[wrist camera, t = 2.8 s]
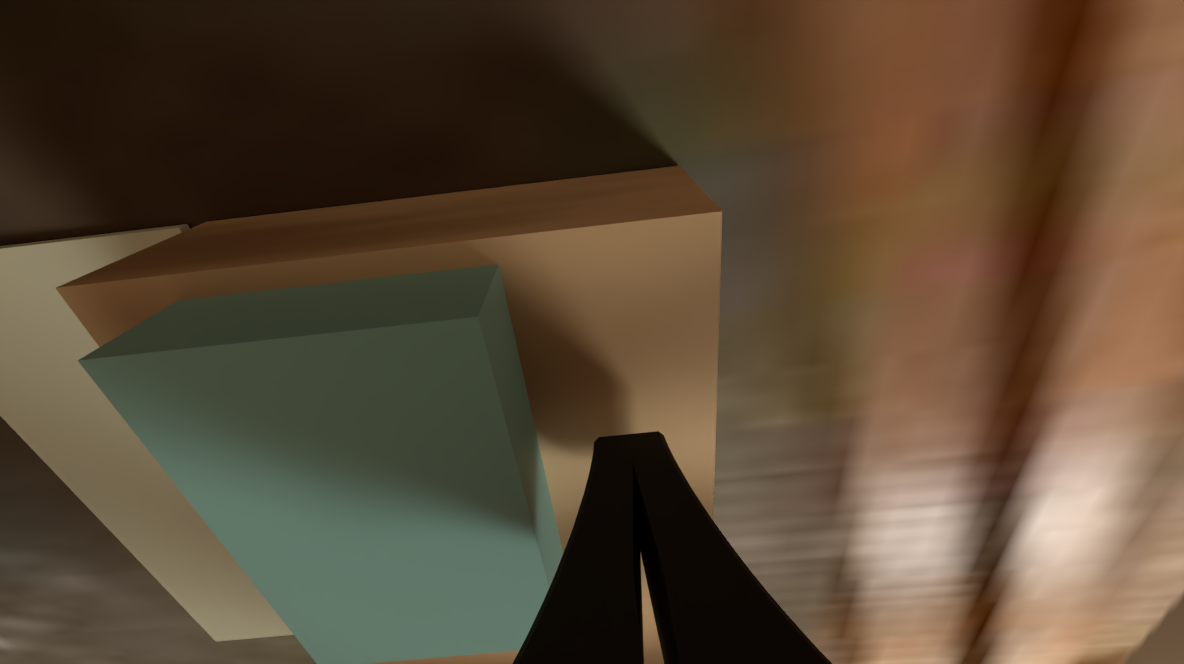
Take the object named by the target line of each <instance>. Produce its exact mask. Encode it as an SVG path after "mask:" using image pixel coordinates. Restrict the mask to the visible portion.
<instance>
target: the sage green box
mask: <svg viewBox="0 0 1184 664" xmlns="http://www.w3.org/2000/svg"><path fill="white" fill-rule="evenodd" d="M78 362H79V363H80V364H81V366H82V367H83V368H84V369H85V371H86V372H87V373H88V374H89V376H90V377H91V378H92V379H93V381H94V382H95V383H96V385H97V386H98V387H99V388H100V390H101V391H102V392H103V393H104V395H105V396H106V397H107V398H108V400H109V401H110V402H111V404H112V405H113V406H114V407H115V409H116V410H117V411H118V412H119V414H120V415H121V416H122V418H123V419H124V420H125V421H126V423H127V424H128V425H129V426H130V428H131V429H132V430H133V431H134V433H135V434H136V435H137V437H138V438H139V439H140V440H141V442H142V443H143V444H144V445H145V447H146V448H147V449H148V450H149V452H150V453H151V454H152V456H153V457H154V458H155V459H156V461H157V462H158V463H159V464H160V466H161V467H162V468H163V469H164V471H165V472H166V473H167V475H168V476H169V477H170V478H171V480H172V481H173V482H174V483H175V485H176V486H177V487H178V489H179V490H180V491H181V492H182V494H183V495H184V496H185V497H186V499H187V500H188V501H189V502H190V504H191V505H192V506H193V508H194V509H195V510H196V511H197V513H198V514H199V515H200V516H201V518H202V519H203V520H204V521H205V523H206V524H207V525H208V527H209V528H210V529H211V530H212V532H213V533H214V534H215V535H216V537H217V538H218V539H219V540H220V542H221V543H222V544H223V546H224V547H225V548H226V549H227V551H228V552H229V553H230V554H231V556H232V557H233V558H234V560H235V561H236V562H237V563H238V565H239V566H240V567H241V568H242V570H243V571H244V572H245V573H246V575H247V576H248V577H249V579H250V580H251V581H252V582H253V584H254V585H255V586H256V587H257V589H258V590H259V591H260V592H261V594H262V595H263V596H264V598H265V599H266V600H267V601H268V603H269V604H270V605H271V606H272V608H273V609H274V610H275V611H276V613H277V614H278V615H279V617H280V618H281V619H282V620H283V622H284V623H285V624H286V625H287V627H288V628H289V629H290V631H291V632H292V633H293V634H294V636H295V637H296V638H297V639H298V641H299V642H300V643H301V644H302V646H303V647H304V648H305V650H306V651H307V652H308V653H309V655H310V656H311V657H312V658H313V660H314V661H315V662H316V663H317V664H368V663H380V662H392V661H404V660H415V659H427V658H439V657H451V656H463V655H474V654H486V653H498V652H510V651H519V650H520V648H521V646H522V644H523V643H524V641H525V639H526V637H527V635H528V633H529V631H530V629H531V627H532V624H533V622H534V620H535V618H536V616H537V614H538V612H539V610H540V608H541V605H542V603H543V601H544V599H545V597H546V594H547V592H548V590H549V587H550V585H551V583H552V580H553V578H554V576H555V573H556V571H557V568H558V566H559V563H560V561H561V558H562V555H563V550H562V546H561V541H560V537H559V532H558V528H557V524H556V519H555V515H554V510H553V506H552V501H551V497H550V492H549V488H548V483H547V479H546V474H545V470H544V465H543V461H542V456H541V452H540V447H539V443H538V439H537V434H536V430H535V425H534V421H533V416H532V412H531V407H530V403H529V398H528V394H527V389H526V385H525V380H524V376H523V371H522V367H521V362H520V358H519V353H518V349H517V345H516V340H515V336H514V331H513V327H512V322H511V318H510V313H509V309H508V304H507V300H506V295H505V291H504V286H503V282H502V277H501V273H500V268H499V264H497V265H488V266H479V267H470V268H461V269H452V270H443V271H435V272H426V273H417V274H408V275H399V276H390V277H381V278H373V279H364V280H355V281H346V282H337V283H328V284H319V285H311V286H302V287H293V288H284V289H275V290H266V291H257V292H249V293H240V294H231V295H222V296H213V297H204V298H195V299H187V300H178V301H176V302H174V303H172V304H171V305H169V306H167V307H166V308H164V309H162V310H161V311H159V312H157V313H156V314H154V315H152V316H151V317H149V318H147V319H146V320H144V321H142V322H141V323H139V324H137V325H136V326H134V327H132V328H131V329H129V330H127V331H126V332H124V333H122V334H121V335H119V336H117V337H116V338H114V339H112V340H111V341H109V342H108V343H106V344H104V345H103V346H101V347H99V348H98V349H96V350H94V351H93V352H91V353H89V354H88V355H86V356H84V357H83V358H81V359H79V360H78Z"/></svg>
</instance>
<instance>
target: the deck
mask: <svg viewBox="0 0 1184 664" xmlns="http://www.w3.org/2000/svg"><path fill="white" fill-rule="evenodd" d="M721 236H722V210H721V209H720V208H719V207H718V206H717V205H716V204H715V203H714V202H713V201H712V200H711V199H710V198H709V197H708V196H707V195H706V194H705V192H704V191H703V190H702V189H701V188H700V187H699V186H698V185H697V184H696V183H695V182H694V181H693V180H692V179H691V178H690V177H689V175H688V174H687V173H686V172H685V171H684V170H683V169H682V168H681V167H680V166H673V167H664V168H656V169H647V170H639V171H630V172H622V173H614V174H605V175H597V176H588V177H580V178H571V179H563V180H555V181H546V182H538V183H529V184H521V185H512V186H504V187H495V188H487V189H479V190H470V191H462V192H453V193H445V194H436V195H428V196H419V197H411V198H403V199H394V200H386V201H377V202H369V203H360V204H352V205H344V206H335V207H327V208H318V209H310V210H301V211H293V212H284V213H276V214H268V215H259V216H251V217H242V218H234V219H225V220H217V221H208V222H205V223H202V224H200V225H198V226H196V227H193V228H191V229H189V230H186V231H184V232H182V233H180V234H177V235H175V236H173V237H170V238H168V239H166V240H164V241H161V242H159V243H157V244H154V245H152V246H150V247H148V248H145V249H143V250H141V251H138V252H136V253H134V254H132V255H129V256H127V257H125V258H122V259H120V260H118V261H116V262H113V263H111V264H109V265H106V266H104V267H102V268H99V269H97V270H95V271H93V272H90V273H88V274H86V275H83V276H81V277H79V278H77V279H74V280H72V281H70V282H67V283H65V284H63V285H61V286H58V287H56V290H57V291H58V292H59V294H60V295H61V296H62V298H63V299H64V300H65V302H66V303H67V304H68V306H69V307H70V308H71V310H72V311H73V312H74V314H75V315H76V316H77V318H78V319H79V320H80V322H81V323H82V324H83V326H84V327H85V328H86V330H87V331H88V332H89V334H90V335H91V336H92V338H93V339H94V340H95V342H96V343H97V344H98V346H99V347H101V346H103V345H104V344H106V343H108V342H109V341H111V340H112V339H114V338H116V337H117V336H119V335H121V334H122V333H124V332H126V331H127V330H129V329H131V328H132V327H134V326H136V325H137V324H139V323H141V322H142V321H144V320H146V319H147V318H149V317H151V316H152V315H154V314H156V313H157V312H159V311H161V310H162V309H164V308H166V307H167V306H169V305H171V304H172V303H174V302H176V301H178V300H187V299H195V298H204V297H213V296H222V295H231V294H240V293H249V292H257V291H266V290H275V289H284V288H293V287H302V286H311V285H319V284H328V283H337V282H346V281H355V280H364V279H373V278H381V277H390V276H399V275H408V274H417V273H426V272H435V271H443V270H452V269H461V268H470V267H479V266H488V265H497V264H499V268H500V273H501V277H502V282H503V286H504V291H505V295H506V300H507V304H508V309H509V313H510V318H511V322H512V327H513V331H514V336H515V340H516V345H517V349H518V353H519V358H520V362H521V367H522V371H523V376H524V380H525V385H526V389H527V394H528V398H529V403H530V407H531V412H532V416H533V421H534V425H535V430H536V434H537V439H538V443H539V447H540V452H541V456H542V461H543V465H544V470H545V474H546V479H547V483H548V488H549V492H550V497H551V501H552V506H553V510H554V515H555V519H556V524H557V528H558V532H559V537H560V541H561V546H562V550H563V553H564V550H565V548H566V545H567V542H568V540H569V537H570V535H571V532H572V529H573V526H574V523H575V520H576V517H577V514H578V510H579V507H580V504H581V501H582V498H583V495H584V491H585V487H586V483H587V480H588V476H589V471H590V467H591V462H592V456H593V448H594V441H595V440H596V439H597V438H598V437H604V436H614V435H625V434H635V433H645V432H656V431H659V432H660V433H662V434H663V435H664V437H665V439H666V442H667V444H668V446H669V448H670V450H671V453H672V454H673V456H674V458H675V460H676V462H677V464H678V466H679V468H680V469H681V471H682V473H683V474H684V476H685V478H686V480H687V481H688V483H689V485H690V486H691V488H692V490H693V491H694V493H695V494H696V496H697V497H698V499H699V500H700V502H701V503H702V505H703V506H704V508H705V509H706V511H707V512H708V514H709V515H710V517H711V518H712V520H713V511H714V476H715V442H716V408H717V373H718V339H719V305H720V270H721ZM640 554H641V552H640ZM641 584H642V615H643V645H644V664H664V660H663V655H662V651H661V646H660V641H659V637H658V632H657V627H656V623H655V618H654V613H653V608H652V604H651V599H650V594H649V590H648V585H647V580H646V575H645V571H644V566H643V561H642V556H641ZM518 652H519V651H510V652H498V653H486V654H474V655H463V656H451V657H439V658H427V659H415V660H404V661H392V662H380V663H368V664H513V662H514V660H515V658H516V656H517V654H518Z"/></svg>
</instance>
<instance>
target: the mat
mask: <svg viewBox="0 0 1184 664" xmlns="http://www.w3.org/2000/svg"><path fill="white" fill-rule="evenodd" d="M189 229H190V228H189V226H188V224H183V225H175V226H166V227H158V228H149V229H141V230H133V231H124V232H116V233H107V234H99V235H90V236H82V237H73V238H65V239H57V240H48V241H40V242H31V243H23V244H14V245H6V246H0V416H1V417H2V418H3V419H4V420H5V421H6V422H7V423H8V424H9V425H10V427H11V428H12V429H13V430H14V431H15V432H16V433H17V434H18V435H19V436H20V437H21V438H22V439H23V440H24V441H25V442H26V443H27V444H28V445H29V446H30V447H31V449H32V450H33V451H34V452H35V453H36V454H37V455H38V456H39V457H40V458H41V459H42V460H43V461H44V462H45V463H46V464H47V465H48V466H49V467H50V468H51V469H52V471H53V472H54V473H55V474H56V475H57V476H58V477H59V478H60V479H61V480H62V481H63V482H64V483H65V484H66V485H67V486H68V487H69V488H70V489H71V490H72V491H73V493H74V494H75V495H76V496H77V497H78V498H79V499H80V500H81V501H82V502H83V503H84V504H85V505H86V506H87V507H88V508H89V509H90V510H91V511H92V512H93V513H94V515H95V516H96V517H97V518H98V519H99V520H100V521H101V522H102V523H103V524H104V525H105V526H106V527H107V528H108V529H109V530H110V531H111V532H112V533H113V534H114V535H115V536H116V538H117V539H118V540H119V541H120V542H121V543H122V544H123V545H124V546H125V547H126V548H127V549H128V550H129V551H130V552H131V553H132V554H133V555H134V556H135V557H136V558H137V560H138V561H139V562H140V563H141V564H142V565H143V566H144V567H145V568H146V569H147V570H148V571H149V572H150V573H151V574H152V575H153V576H154V577H155V578H156V579H157V580H158V582H159V583H160V584H161V585H162V586H163V587H164V588H165V589H166V590H167V591H168V592H169V593H170V594H171V595H172V596H173V597H174V598H175V599H176V600H177V601H178V602H179V604H180V605H181V606H182V607H183V608H184V609H185V610H186V611H187V612H188V613H189V614H190V615H191V616H192V617H193V618H194V619H195V620H196V621H197V622H198V623H199V624H200V626H201V627H202V628H203V629H204V630H205V631H206V632H207V633H208V634H209V635H210V636H211V637H212V638H213V639H214V640H215V641H226V640H238V639H249V638H260V637H272V636H283V635H294V634H293V633H292V632H291V631H290V629H289V628H288V627H287V625H286V624H285V623H284V622H283V620H282V619H281V618H280V617H279V615H278V614H277V613H276V611H275V610H274V609H273V608H272V606H271V605H270V604H269V603H268V601H267V600H266V599H265V598H264V596H263V595H262V594H261V592H260V591H259V590H258V589H257V587H256V586H255V585H254V584H253V582H252V581H251V580H250V579H249V577H248V576H247V575H246V573H245V572H244V571H243V570H242V568H241V567H240V566H239V565H238V563H237V562H236V561H235V560H234V558H233V557H232V556H231V554H230V553H229V552H228V551H227V549H226V548H225V547H224V546H223V544H222V543H221V542H220V540H219V539H218V538H217V537H216V535H215V534H214V533H213V532H212V530H211V529H210V528H209V527H208V525H207V524H206V523H205V521H204V520H203V519H202V518H201V516H200V515H199V514H198V513H197V511H196V510H195V509H194V508H193V506H192V505H191V504H190V502H189V501H188V500H187V499H186V497H185V496H184V495H183V494H182V492H181V491H180V490H179V489H178V487H177V486H176V485H175V483H174V482H173V481H172V480H171V478H170V477H169V476H168V475H167V473H166V472H165V471H164V469H163V468H162V467H161V466H160V464H159V463H158V462H157V461H156V459H155V458H154V457H153V456H152V454H151V453H150V452H149V450H148V449H147V448H146V447H145V445H144V444H143V443H142V442H141V440H140V439H139V438H138V437H137V435H136V434H135V433H134V431H133V430H132V429H131V428H130V426H129V425H128V424H127V423H126V421H125V420H124V419H123V418H122V416H121V415H120V414H119V412H118V411H117V410H116V409H115V407H114V406H113V405H112V404H111V402H110V401H109V400H108V398H107V397H106V396H105V395H104V393H103V392H102V391H101V390H100V388H99V387H98V386H97V385H96V383H95V382H94V381H93V379H92V378H91V377H90V376H89V374H88V373H87V372H86V371H85V369H84V368H83V367H82V366H81V364H80V363H79V362H78V360H79V359H81V358H83V357H84V356H86V355H88V354H89V353H91V352H93V351H94V350H96V349H98V348H99V346H98V344H97V343H96V342H95V340H94V339H93V338H92V336H91V335H90V334H89V332H88V331H87V330H86V328H85V327H84V326H83V324H82V323H81V322H80V320H79V319H78V318H77V316H76V315H75V314H74V312H73V311H72V310H71V308H70V307H69V306H68V304H67V303H66V302H65V300H64V299H63V298H62V296H61V295H60V294H59V292H58V291H57V290H56V287H58V286H61V285H63V284H65V283H67V282H70V281H72V280H74V279H77V278H79V277H81V276H83V275H86V274H88V273H90V272H93V271H95V270H97V269H99V268H102V267H104V266H106V265H109V264H111V263H113V262H116V261H118V260H120V259H122V258H125V257H127V256H129V255H132V254H134V253H136V252H138V251H141V250H143V249H145V248H148V247H150V246H152V245H154V244H157V243H159V242H161V241H164V240H166V239H168V238H170V237H173V236H175V235H177V234H180V233H182V232H184V231H186V230H189Z"/></svg>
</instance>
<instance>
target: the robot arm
mask: <svg viewBox="0 0 1184 664" xmlns="http://www.w3.org/2000/svg"><path fill="white" fill-rule="evenodd" d="M640 552H641V554H640ZM641 556H642V561H643V566H644V571H645V575H646V580H647V585H648V590H649V594H650V599H651V604H652V608H653V613H654V618H655V623H656V627H657V632H658V637H659V641H660V646H661V651H662V655H663V660H664V664H832V663H831V662H830V661H829V660H828V659H827V658H826V657H825V656H824V655H823V654H822V653H821V652H820V651H819V650H818V649H817V647H816V646H815V645H814V644H813V643H812V642H811V641H810V640H809V639H808V638H807V636H806V635H805V634H804V633H803V632H802V631H801V630H800V629H799V628H798V626H797V625H796V624H795V623H794V622H793V621H792V620H791V619H790V618H789V616H788V615H787V614H786V613H785V612H784V611H783V610H782V608H781V607H780V606H779V605H778V604H777V603H776V601H775V600H774V599H773V598H772V597H771V595H770V594H769V593H768V592H767V591H766V590H765V588H764V587H763V586H762V585H761V584H760V582H759V581H758V580H757V579H756V577H755V576H754V575H753V574H752V572H751V571H750V570H749V569H748V567H747V566H746V565H745V563H744V562H743V561H742V560H741V558H740V557H739V556H738V554H737V553H736V552H735V550H734V549H733V548H732V546H731V545H730V544H729V542H728V541H727V540H726V538H725V537H724V535H723V534H722V533H721V531H720V530H719V528H718V527H717V526H716V524H715V523H714V521H713V520H712V518H711V517H710V515H709V514H708V512H707V511H706V509H705V508H704V506H703V505H702V503H701V502H700V500H699V499H698V497H697V496H696V494H695V493H694V491H693V490H692V488H691V486H690V485H689V483H688V481H687V480H686V478H685V476H684V474H683V473H682V471H681V469H680V468H679V466H678V464H677V462H676V460H675V458H674V456H673V454H672V453H671V450H670V448H669V446H668V444H667V442H666V439H665V437H664V435H663V434H662V433H660V432H659V431H656V432H645V433H635V434H625V435H614V436H604V437H598V438H597V439H596V440H595V441H594V448H593V456H592V462H591V467H590V471H589V476H588V480H587V483H586V487H585V491H584V495H583V498H582V501H581V504H580V507H579V510H578V514H577V517H576V520H575V523H574V526H573V529H572V532H571V535H570V537H569V540H568V542H567V545H566V548H565V550H564V553H563V555H562V558H561V561H560V563H559V566H558V568H557V571H556V573H555V576H554V578H553V580H552V583H551V585H550V587H549V590H548V592H547V594H546V597H545V599H544V601H543V603H542V605H541V608H540V610H539V612H538V614H537V616H536V618H535V620H534V622H533V624H532V627H531V629H530V631H529V633H528V635H527V637H526V639H525V641H524V643H523V644H522V646H521V648H520V650H519V652H518V654H517V656H516V658H515V660H514V662H513V664H644V645H643V615H642V584H641Z"/></svg>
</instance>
